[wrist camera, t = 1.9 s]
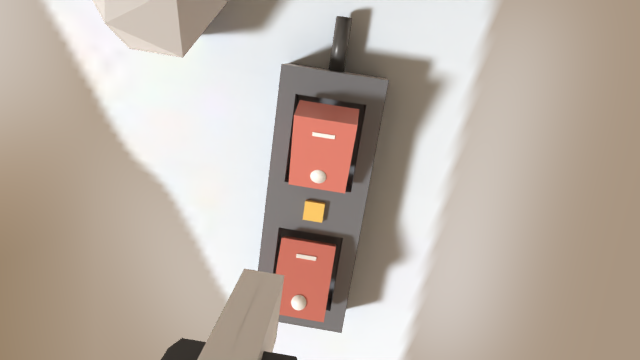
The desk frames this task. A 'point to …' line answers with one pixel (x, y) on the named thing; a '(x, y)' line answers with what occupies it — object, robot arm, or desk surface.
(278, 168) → the power strip
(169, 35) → the die
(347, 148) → the rocker
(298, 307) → the rocker
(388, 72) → the desk surface
